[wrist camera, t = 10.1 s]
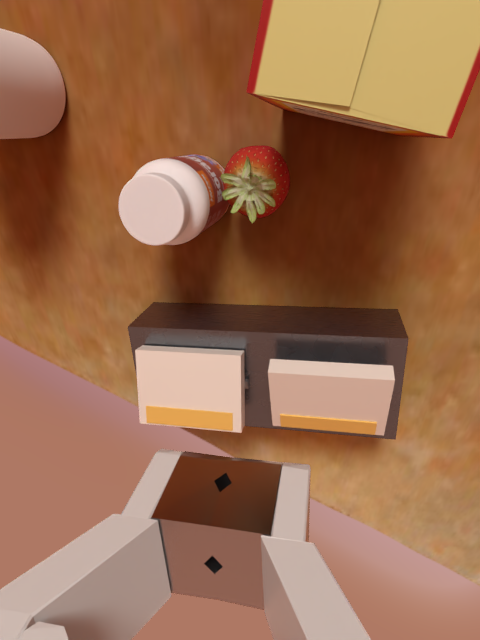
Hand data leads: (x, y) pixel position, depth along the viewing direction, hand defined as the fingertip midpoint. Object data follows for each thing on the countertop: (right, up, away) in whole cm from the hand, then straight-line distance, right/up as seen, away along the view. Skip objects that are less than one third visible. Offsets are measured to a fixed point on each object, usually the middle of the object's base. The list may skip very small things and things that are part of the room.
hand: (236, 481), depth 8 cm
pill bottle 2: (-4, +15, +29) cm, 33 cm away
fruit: (+2, +16, +27) cm, 32 cm away
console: (+3, 0, +34) cm, 34 cm away
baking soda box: (+9, +22, +23) cm, 33 cm away
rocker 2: (+7, -3, +26) cm, 27 cm away
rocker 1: (-4, -3, +28) cm, 29 cm away
